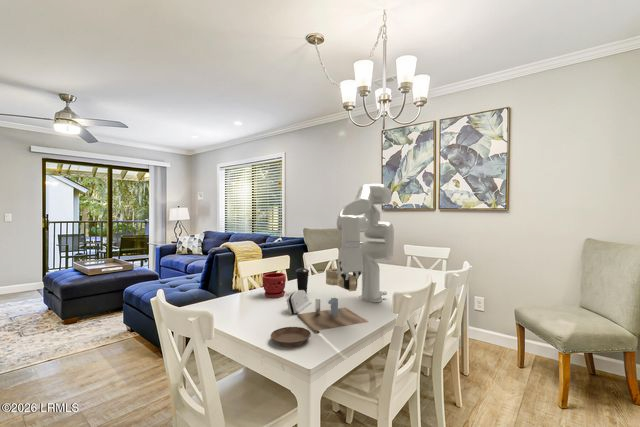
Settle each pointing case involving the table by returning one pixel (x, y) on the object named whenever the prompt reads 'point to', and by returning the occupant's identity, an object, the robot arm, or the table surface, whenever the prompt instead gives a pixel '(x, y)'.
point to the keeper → (334, 306)
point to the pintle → (317, 307)
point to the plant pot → (274, 284)
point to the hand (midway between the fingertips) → (350, 287)
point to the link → (340, 279)
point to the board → (330, 319)
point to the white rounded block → (297, 301)
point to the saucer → (290, 336)
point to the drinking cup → (302, 278)
